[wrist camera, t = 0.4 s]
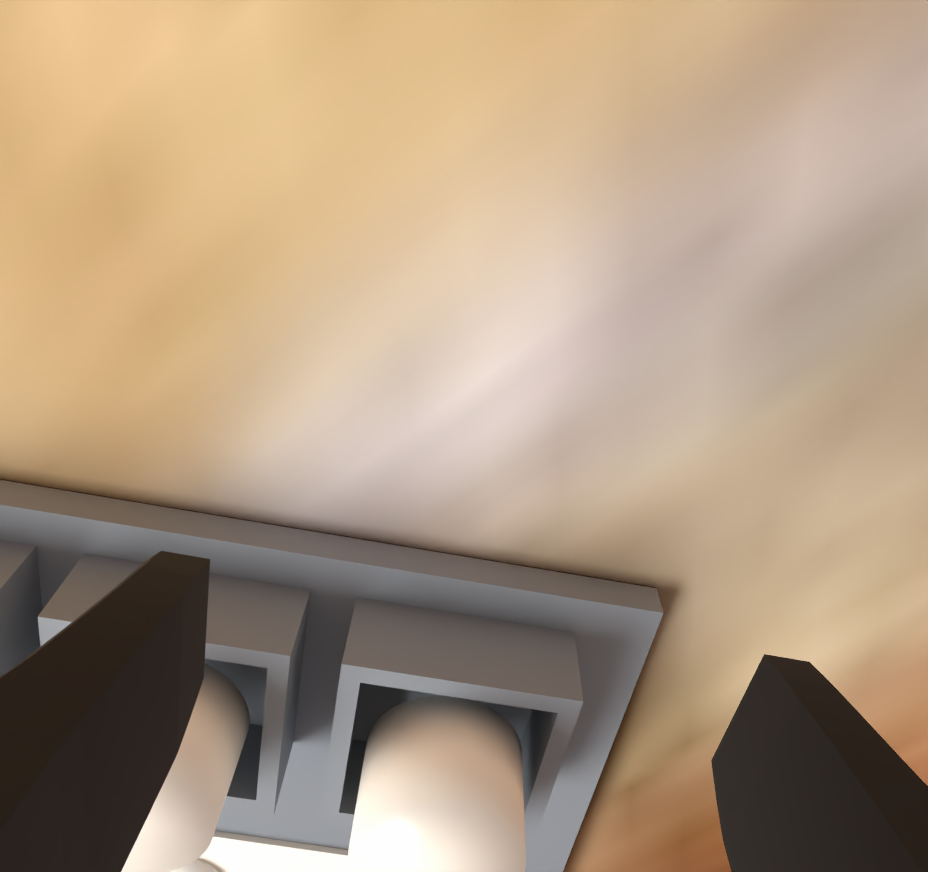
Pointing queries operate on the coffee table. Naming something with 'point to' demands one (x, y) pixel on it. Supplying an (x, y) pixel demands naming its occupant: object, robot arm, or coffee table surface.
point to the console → (346, 657)
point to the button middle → (195, 780)
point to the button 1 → (440, 791)
